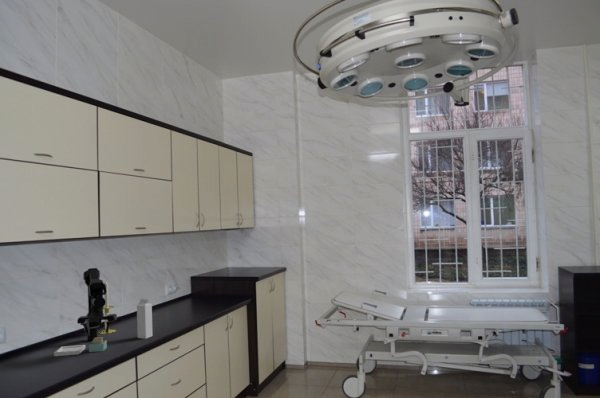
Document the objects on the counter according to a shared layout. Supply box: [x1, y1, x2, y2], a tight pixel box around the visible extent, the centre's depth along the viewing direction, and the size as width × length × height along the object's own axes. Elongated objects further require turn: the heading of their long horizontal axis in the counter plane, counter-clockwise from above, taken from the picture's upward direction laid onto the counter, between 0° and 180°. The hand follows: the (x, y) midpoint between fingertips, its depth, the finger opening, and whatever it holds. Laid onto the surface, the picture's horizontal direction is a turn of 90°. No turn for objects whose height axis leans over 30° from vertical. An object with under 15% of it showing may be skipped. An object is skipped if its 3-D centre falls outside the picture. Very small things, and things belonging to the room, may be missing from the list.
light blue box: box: [88, 339, 108, 353], centre depth 244 cm, size 7×7×4 cm
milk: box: [136, 298, 153, 340], centre depth 267 cm, size 6×6×22 cm
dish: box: [53, 344, 86, 357], centre depth 241 cm, size 12×12×2 cm
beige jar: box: [92, 336, 104, 344], centre depth 244 cm, size 4×4×6 cm
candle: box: [98, 280, 117, 335], centre depth 285 cm, size 10×10×32 cm
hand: (97, 334), depth 244 cm, fingers open, 9 cm apart
